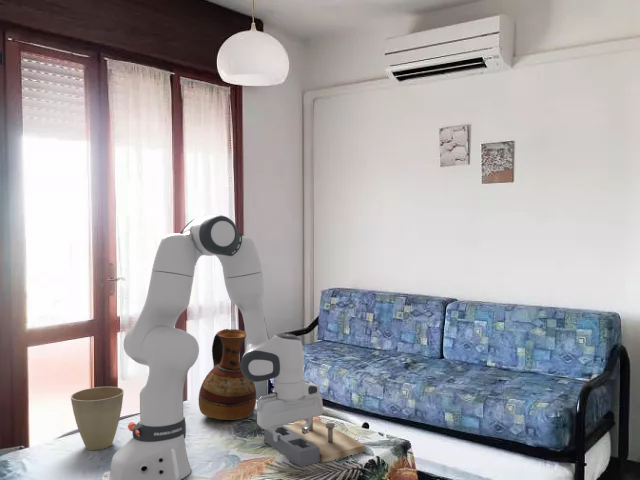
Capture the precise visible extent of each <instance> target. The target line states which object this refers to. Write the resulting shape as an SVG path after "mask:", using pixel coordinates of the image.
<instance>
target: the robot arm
mask: <svg viewBox="0 0 640 480" xmlns="http://www.w3.org/2000/svg"><path fill="white" fill-rule="evenodd" d="M202 256H209V257H210V256H211V257H212V256H215V257H216V258H218V260H219V262H220V265H221V266H222V273H223V279H224V280H223V282H224V285H225V288H226V289H225V290H226V292H227V295H228V298H229V300H230V302H232V303H233V304H234V305H235V306H236V307H237V308H238V309H239V311H240V313H241V314H242V315H241V316H242V320H243V324H244V325H243V326H244V329H245V332H246V335H247V336H246V340H247V341H246V346H245V349H244V353H243V355H242V357H241V360H240V369H241V372H242V374H243V375H244V377H245V378H247V379H248V380H250V381H253V382H254V383H256V382H257V383H259V382H264V381H268V380H272V379H273V388H274V389H273V391H274V392H272V393H271V392H270V393H268V394H263V395H261V396H260V397H259V398H257V399H258V400H256V408H257V413H256V423H257V424H256V425H257V426H259V427H260V428H261V429H263V430H264V429H268V428H269V429H270V431H271V432H272V434H273V440H274V441H275V442H277V441H280V440H281V439H280V434H278V433H276V431H275V430H277V426H280V425H284V426H285V425H290V424H294V423H298V422H302V421H306V422H305V425H304V427H302V433H303V434H308V433H309V427H310V425H311V423H312V418H313V419H314V418H317V417H321V416H322V414H323V412H324V406H323V405H324V404H323V398H322V395H321V393H320V392H321V386H320V385H318V384H317V383H314V382H311V381H307V380H305V375H304V365H305V362H304V361H305V360H304V359H305V358H304V349H303V343H302V340H301V339H300V338H299V337H298V336H297V335H295V334H292V333H286V332H285V333H284V332H282V333H281V332H279V333H276V334H275V335H273V337H271V338H270V337H269V334H268V330H267V324H266V320H265V313H264V306H263V305H264V290H265V289H264V288H265V285H264V274H263V269H262V263H261V261H260V260H261V259H260V257H259V252H258V251H257V246H256V244H255V243H254V241H253V239H251V238H250V237H249V236H244V235H242V233H241V232H240V231H239V229H238V227H237V224H236V223H234V221H233V220H232V219H231V218H229V217H227V216H225V215H222V214H221V215H220V214H214V215H204V216H201V217H197V218H195V219H192V220H191V221H189V222H188V223H187V224H186V225H185V226H184V227H183V229H182V230H181V231H180V232H178V233H170V234H166V235H165V236H164V237H162V238H161V240H160V242H159V245H158V247H157V251H156V253H155V257H154V260H153V264H152V270H151V275H150V280H149V286H148V290H147V294H146V300H145V302H144V305H143V307H142V310H141V312H140V315H139V316H138V319H137V321H136V322H135V323H134V325H133V326H132V327H131V328H130V329H129V330H128V331H127V332H126V334H125V336H124V339H123V349H124V352H125V354H126V355H127V357H129V359H131V360H133V361H134V362H135V363H137V364H139V365H143V366H147V367H148V376H147V381H146V384H145V385H144V387H143V388H142V389H141V390H140V392H139V418H140V419H139V420H140V421H138V422H137V423H135V422H133V421H130V422H129V423H128V424H127V429H128V430H129V431H130V432H132V438H130V440H128V441H127V442H126V443H125V444H124V445H123V446H122V447H120V449H118V450H116V452H115V453H114V454H113V455H112V458H111V463H110V470H108V471H105V472H104V473H103V474H102V476H101V478H100V479H101V480H182V479H184V478H185V477H187V476H188V475H190V473H191V472H192V468H191V464H190V461H189V457H188V452H187V448H186V447H187V446H186V437H187V436H186V434H187V423H186V417H185V416H184V390H185V389H184V388H185V382H186V378H187V376H188V373H189V370H190V369H191V368H192V367H193V366H194V365H195V363H196V361H197V360H198V357H199V354H200V353H199V352H200V347H199V343H198V341H197V339H196V337H195V336H193V335H192V334H190V333H189V332H187V331H185V330H183V329H181V328H177V327H176V328H175V326H176V324H177V321H178V320H179V317H181V315H182V313H184V312H185V310H187V308H188V307H189V305H190V300H191V295H192V290H193V289H192V288H193V284H194V278H195V277H194V276H195V272H196V271H195V269H196V268H195V267H196V265H197V262H198V261H199V259H200V257H202Z"/></svg>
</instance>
